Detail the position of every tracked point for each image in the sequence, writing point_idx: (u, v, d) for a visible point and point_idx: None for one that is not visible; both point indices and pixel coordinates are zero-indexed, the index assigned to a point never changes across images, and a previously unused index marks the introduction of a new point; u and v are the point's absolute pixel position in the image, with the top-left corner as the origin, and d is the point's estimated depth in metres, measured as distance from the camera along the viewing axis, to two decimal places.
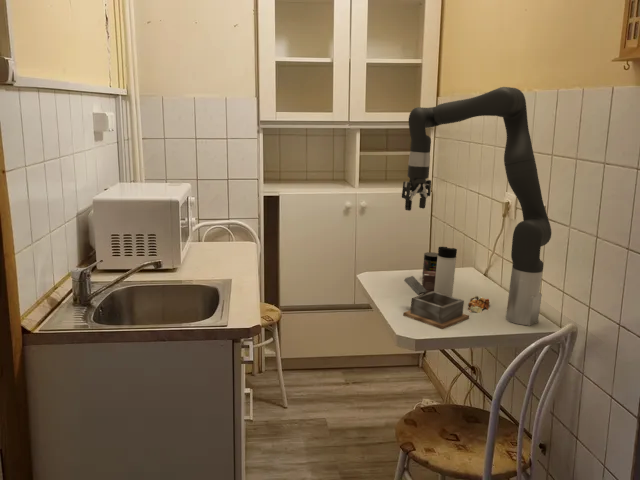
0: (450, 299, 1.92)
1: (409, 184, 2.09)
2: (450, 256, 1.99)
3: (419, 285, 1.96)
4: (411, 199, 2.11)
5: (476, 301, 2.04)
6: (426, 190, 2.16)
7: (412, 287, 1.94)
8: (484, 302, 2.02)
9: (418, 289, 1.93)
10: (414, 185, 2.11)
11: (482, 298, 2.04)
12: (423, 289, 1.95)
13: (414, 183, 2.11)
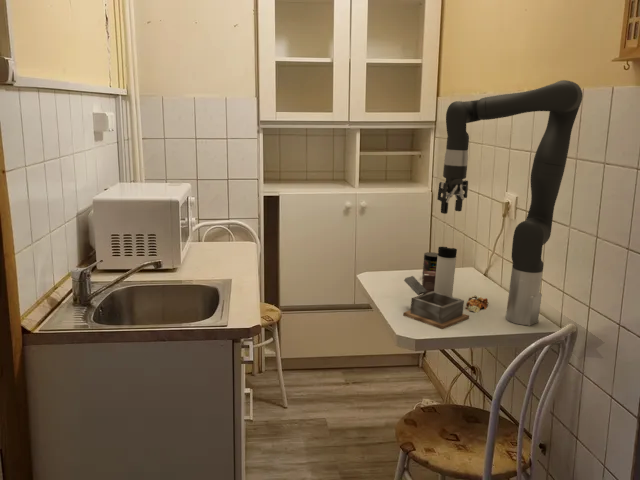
0: (450, 299, 1.92)
1: (446, 185, 1.91)
2: (450, 256, 1.99)
3: (419, 285, 1.96)
4: (447, 201, 1.94)
5: (474, 301, 2.04)
6: None
7: (412, 287, 1.94)
8: (482, 302, 2.02)
9: (418, 289, 1.93)
10: (451, 186, 1.94)
11: (480, 298, 2.04)
12: (423, 289, 1.95)
13: (451, 184, 1.94)
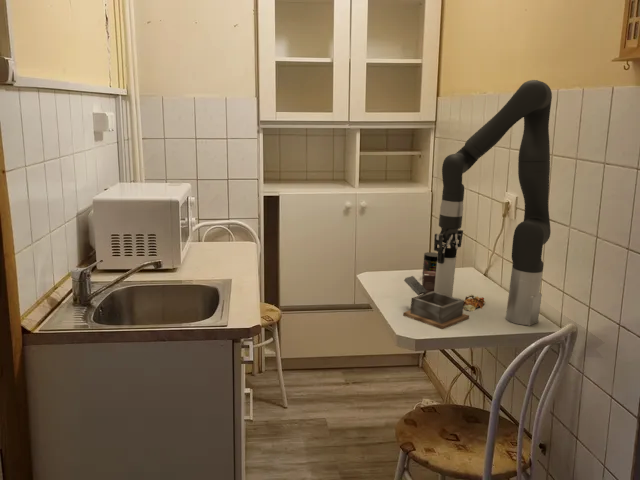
0: (450, 299, 1.92)
1: (441, 237, 1.95)
2: (450, 256, 1.99)
3: (419, 285, 1.96)
4: (444, 252, 1.98)
5: (471, 300, 2.05)
6: (457, 241, 2.02)
7: (412, 287, 1.94)
8: (478, 301, 2.03)
9: (418, 289, 1.93)
10: (446, 236, 1.98)
11: (477, 297, 2.05)
12: (423, 289, 1.95)
13: (446, 234, 1.97)
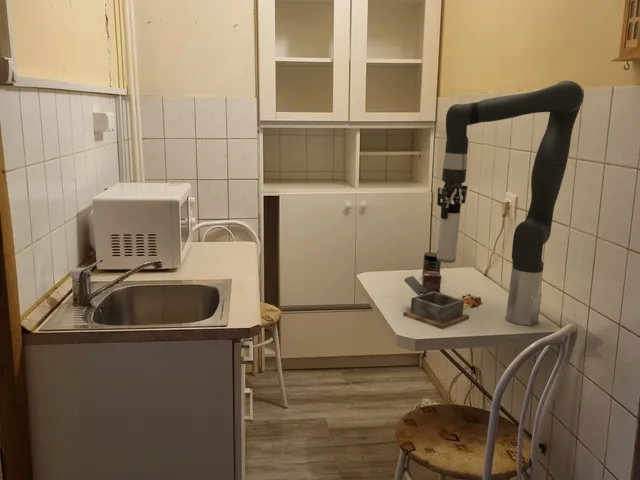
0: (450, 299, 1.92)
1: (444, 190, 1.89)
2: (453, 212, 1.93)
3: (419, 285, 1.96)
4: (448, 206, 1.92)
5: (467, 299, 2.06)
6: (461, 196, 1.96)
7: (412, 287, 1.94)
8: (474, 300, 2.04)
9: (418, 289, 1.93)
10: (450, 190, 1.91)
11: (473, 296, 2.05)
12: (423, 289, 1.95)
13: (450, 188, 1.91)
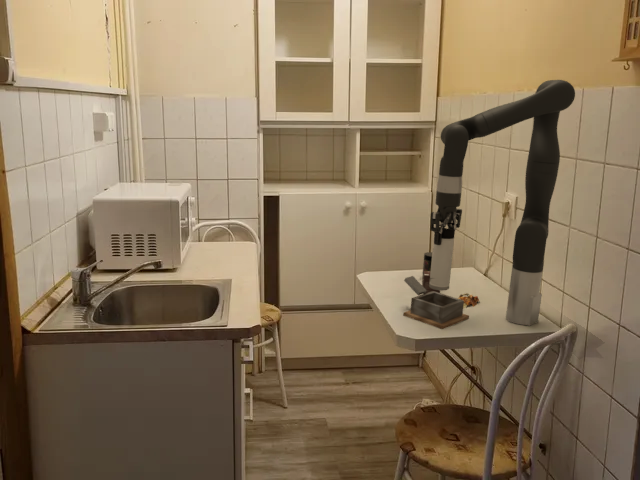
0: (450, 299, 1.92)
1: (438, 215, 1.78)
2: (447, 237, 1.82)
3: (419, 285, 1.96)
4: (441, 232, 1.82)
5: (464, 298, 2.07)
6: (456, 221, 1.85)
7: (412, 287, 1.94)
8: (471, 299, 2.05)
9: (418, 289, 1.93)
10: (444, 214, 1.81)
11: (470, 295, 2.06)
12: (423, 289, 1.95)
13: (443, 212, 1.80)
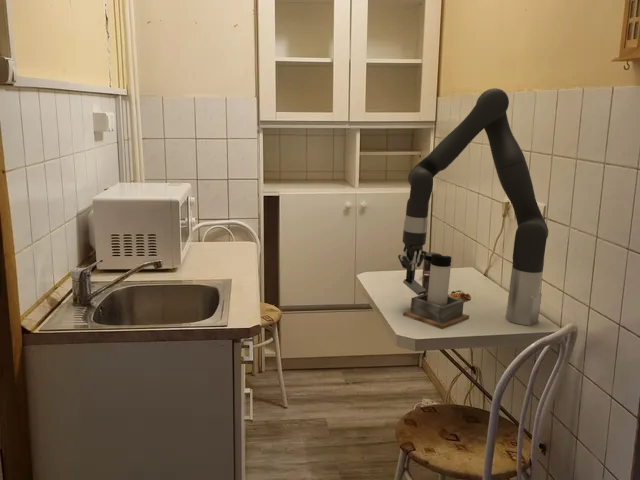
0: (450, 299, 1.92)
1: (405, 258, 1.90)
2: (444, 265, 1.84)
3: (418, 285, 1.96)
4: (413, 268, 1.95)
5: (455, 294, 2.10)
6: (419, 260, 1.95)
7: (411, 288, 1.94)
8: (461, 296, 2.08)
9: (417, 289, 1.94)
10: (410, 252, 1.92)
11: (461, 292, 2.09)
12: (423, 289, 1.95)
13: (409, 251, 1.91)
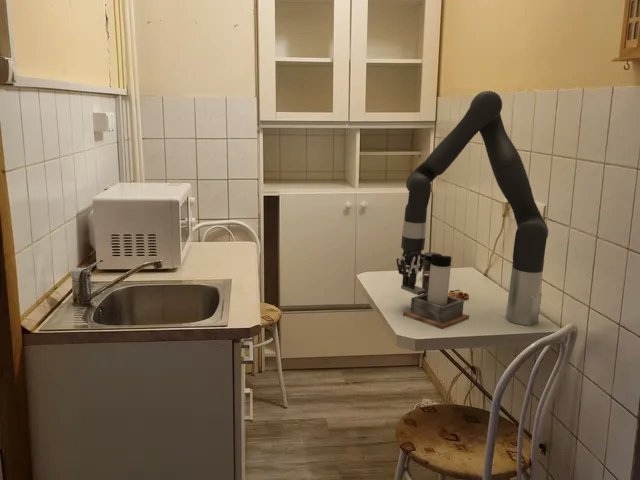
0: (450, 299, 1.92)
1: (403, 262, 1.90)
2: (444, 265, 1.84)
3: (417, 287, 1.96)
4: (409, 275, 1.94)
5: (453, 293, 2.11)
6: (419, 265, 1.96)
7: (410, 290, 1.95)
8: (458, 295, 2.09)
9: (416, 290, 1.94)
10: (409, 258, 1.92)
11: (459, 291, 2.10)
12: (421, 289, 1.95)
13: (408, 256, 1.92)
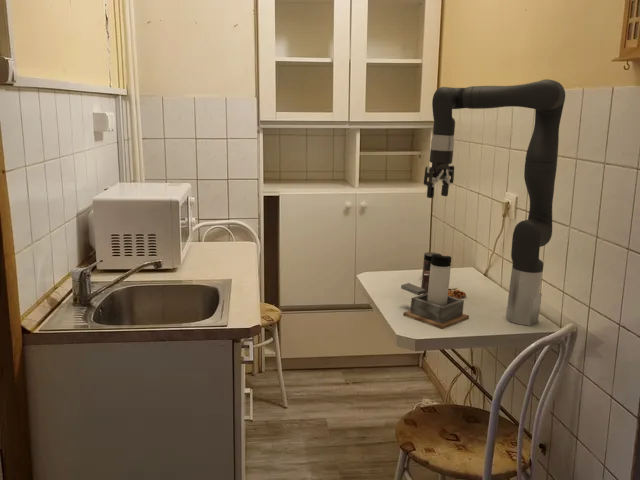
0: (450, 299, 1.92)
1: (432, 169, 1.94)
2: (444, 265, 1.84)
3: (417, 287, 1.96)
4: (433, 186, 1.97)
5: (450, 291, 2.13)
6: None
7: (410, 290, 1.95)
8: (454, 293, 2.10)
9: (416, 290, 1.94)
10: (437, 171, 1.97)
11: (455, 289, 2.12)
12: (421, 289, 1.95)
13: (437, 168, 1.96)
